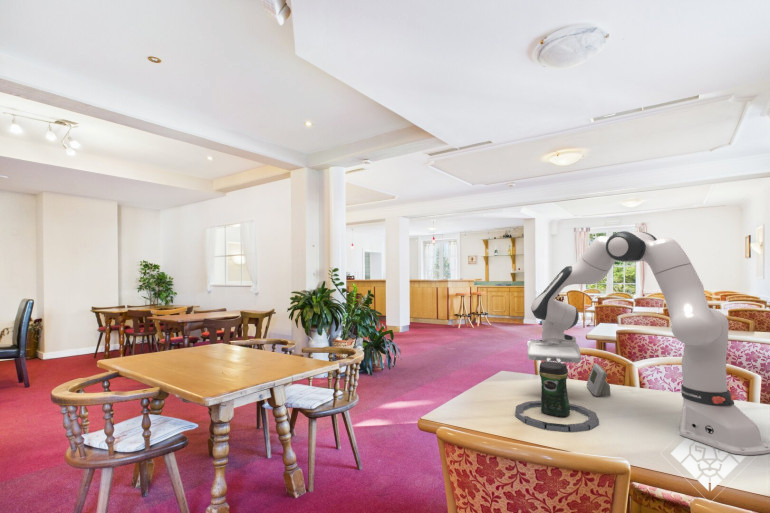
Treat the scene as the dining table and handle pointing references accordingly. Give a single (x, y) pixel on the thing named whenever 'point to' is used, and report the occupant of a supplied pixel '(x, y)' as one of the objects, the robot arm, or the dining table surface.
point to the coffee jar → (554, 388)
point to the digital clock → (598, 381)
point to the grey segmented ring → (583, 426)
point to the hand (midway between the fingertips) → (553, 369)
